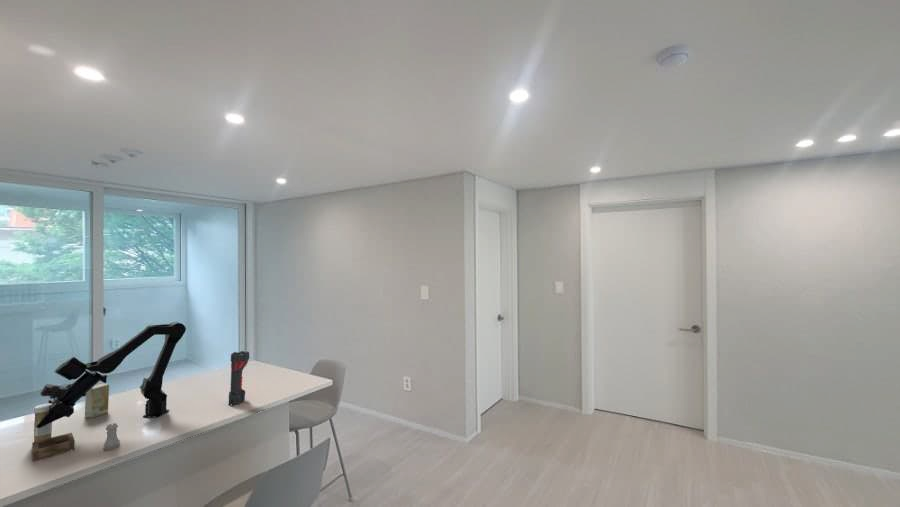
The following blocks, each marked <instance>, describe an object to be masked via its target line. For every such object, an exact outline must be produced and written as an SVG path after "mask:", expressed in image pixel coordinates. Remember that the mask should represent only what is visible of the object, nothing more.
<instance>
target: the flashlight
mask: <svg viewBox="0 0 900 507" xmlns="http://www.w3.org/2000/svg"><path fill="white" fill-rule="evenodd" d="M249 360H250V351H244V350H242V351H239V352H237V351H234V352H232V353H231V354H230V363H231V364H230V390H229V392H228V406H232V405H231V404H234V405H236V404H237V405H240V404H239V403H242V402H243V401H244V402H245V400H246V398H245V397H246V390H244V389H243V370H245V367H246V366H247V364H248V362H249ZM244 402H243V403H244Z"/></svg>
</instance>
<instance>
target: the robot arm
mask: <svg viewBox="0 0 900 507" xmlns="http://www.w3.org/2000/svg"><path fill="white" fill-rule="evenodd" d="M186 331H187V327H186V325H185V324H183V323H181V322H178V321H172V322H170V323H168V324H167V323H166V324H164V323H163V324H162V323H161V324H149V325H148V326H146V327H145V328H144V329H143V330H142V331H140V332H139V333H138V334H137V335H135V336H133V337H132V338H131V339H129V340H128V341H127V342H125V343H124V344H123V345H122V346H120V347H119V348H118V349H115V350H114V351H113V350H112V351H111V352H108V353H107V354H104V356H101V357H100V358H98V359H97V360H95V361H91V362H87V363H84V362H83V361H81V360H80V359H78V358H76V357H75V356H72V357H71V358H69V359H68V360H66V361H64V362H63V363H61V364H60V365H58V367H57V368H56V369H55V370H54V373H55V374H57V375H58V376H60V377H62V378H64V379H67V380H68V381H71V380H74V382H73V383H70V384H67V385H66V386H63V385H57V384H51V383H50V384H48V383H46V384H45V385H44V387H43V388H42V390H41V392H40V396H41V397H49V400H48V403H51V404H53V405H52V406H49V412H48V413H47V415H46V416H45V417H44V418H43V419H42V420H41V421H40V422H39V424H38V425H37V426H36V427H37V428H41V427H43V426H45V425H47V424H49V423H51V422H52V423H53V422H56V421H57V420H60V419H62V418H64V417H65V418H70V417H71V416H72V415H73V414H74V413H75V408H74V407H75V406H76V405H77V402H78V401H80V399H81V398H85V397H86V395H87V394H86V393H87V392H88V391H89V390H90V389H91V388H92V387H94V386H95V385H98V383H99V382H102V383H103V384H107V378H108V375H107V374H111V373H112V372H114V371H115V370H116V369H117V368H118V367H119V366H120V365H121V363H122V362H124V360H125V359H126V357H127V356H129V355H130V354H131V353H132V352H134V351H135V350H137V349H138V348H139V347H141V346H142V345H143V344H144V343H145V342H147V341H148V340H150V339H151V338H152V337H153V336H156V335H159V336H160V335H163V336H164V343H163V344H162V345H163V346H162V347H161V350H160V353H159V354H158V357H157V360H156V362H155V365H154V366H153V369H152V372H151V374H150V375H149V376H148V378H146V377H144V378H143V380H142V384H141V385H140V386H139V388H140V394H141V395H142V396H143V397H144V399H147V400H146V402H145V403H146V404H145V407H144V408H145V409H144V412H145V413H144V414H143V415H142V417H143V418H159V417H161V416H162V414H163V415H165V414H166V413H168V412H169V411H170V409H167V405H168V404H167V403H168V401H167V398H168V395H167V394H166V392H165V391H163V390H162V387H163V379H164V378H163V377H164V374H165V373H166V370H167V367H168V365H169V363H170V360H171V358H172V356H173V353H174V351H175V350H174V349H175V348H176V345H177V344H178V343H179V342H180V340H181V339H182V338H183V336H184V334H185V333H186ZM50 399H51V400H50ZM160 415H161V416H160Z"/></svg>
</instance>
